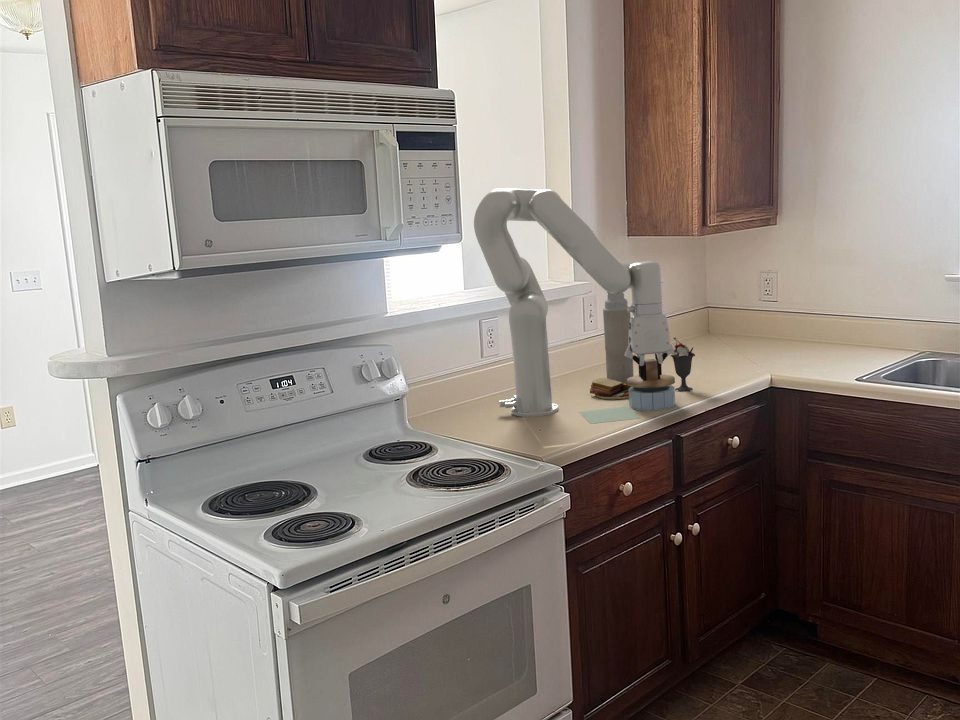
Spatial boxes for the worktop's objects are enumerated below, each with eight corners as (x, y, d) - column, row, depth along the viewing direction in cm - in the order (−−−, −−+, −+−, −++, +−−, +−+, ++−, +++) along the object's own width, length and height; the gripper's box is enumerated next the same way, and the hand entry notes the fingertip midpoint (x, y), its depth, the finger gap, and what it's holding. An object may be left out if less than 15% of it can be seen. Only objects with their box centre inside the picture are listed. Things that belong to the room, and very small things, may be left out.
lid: (634, 389, 225) (633, 366, 224) (621, 380, 237) (620, 358, 236) (681, 384, 226) (680, 361, 225) (665, 375, 239) (665, 354, 237)
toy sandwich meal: (621, 404, 240) (620, 387, 239) (583, 399, 249) (582, 382, 248) (648, 394, 248) (648, 378, 247) (610, 389, 258) (609, 374, 257)
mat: (590, 425, 220) (590, 423, 220) (578, 413, 233) (578, 411, 232) (641, 419, 221) (641, 417, 221) (626, 408, 234) (626, 406, 234)
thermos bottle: (634, 378, 269) (629, 286, 264) (633, 383, 262) (628, 289, 257) (607, 379, 271) (602, 288, 266) (606, 384, 263) (600, 291, 258)
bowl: (637, 413, 227) (636, 395, 226) (624, 404, 238) (623, 386, 237) (680, 409, 228) (679, 390, 227) (666, 399, 239) (665, 381, 238)
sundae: (667, 389, 251) (664, 337, 249) (687, 385, 253) (685, 334, 251) (679, 393, 245) (677, 340, 242) (700, 389, 247) (698, 337, 244)
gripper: (620, 314, 224) (624, 385, 227) (682, 308, 226) (685, 378, 229) (612, 310, 231) (616, 379, 235) (673, 305, 233) (675, 373, 236)
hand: (650, 378), depth 232 cm, fingers closed on lid, 3 cm apart
